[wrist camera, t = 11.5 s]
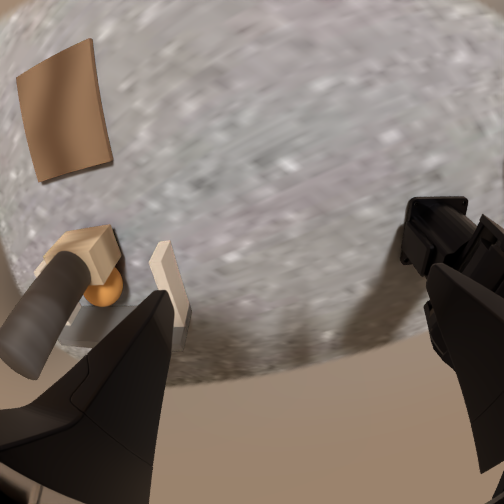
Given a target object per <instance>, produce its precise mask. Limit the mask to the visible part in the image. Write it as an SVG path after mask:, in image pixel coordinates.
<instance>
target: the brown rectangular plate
mask: <svg viewBox="0 0 504 504" xmlns="http://www.w3.org/2000/svg"><path fill="white" fill-rule="evenodd" d="M16 81H17V88H18V95H19V102H20V108H21V113H22V119H23V124H24V129H25V133H26V138H27V142H28V146H29V150H30V154H31V158H32V161H33V165H34V169H35V172H36V175H37V179H38V182H41V181H44V180H47V179H51V178H54V177H57V176H60V175H63V174H66V173H70V172H73V171H77V170H80V169H84V168H87V167H91V166H95V165H98V164H102V163H106V162H110V161H112V160H113V156H112V151H111V147H110V143H109V138H108V134H107V129H106V124H105V119H104V114H103V109H102V104H101V98H100V92H99V86H98V79H97V73H96V65H95V58H94V49H93V40H92V39H91V38H89V39H86V40H84V41H82V42H80V43H78V44H75V45H73V46H71V47H69V48H67V49H65V50H63V51H61V52H59V53H57V54H55V55H54V56H52V57H50V58H48V59H46V60H44V61H43V62H41V63H39V64H37V65H36V66H34V67H32V68H31V69H29V70H28V71H26V72H24V73H23V74H21V75H20V76H18V77H17V78H16Z"/></svg>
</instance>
